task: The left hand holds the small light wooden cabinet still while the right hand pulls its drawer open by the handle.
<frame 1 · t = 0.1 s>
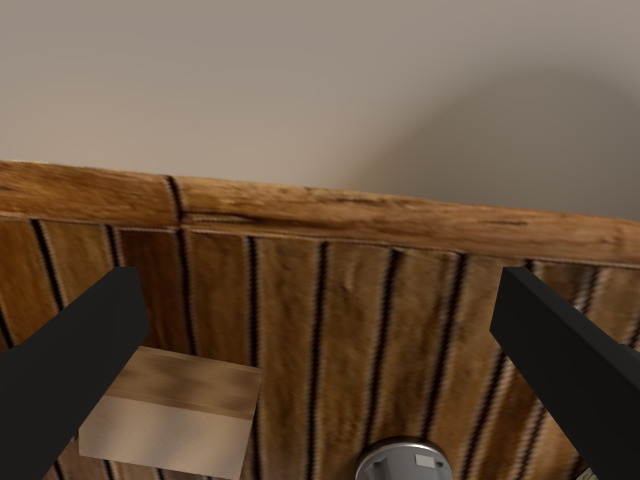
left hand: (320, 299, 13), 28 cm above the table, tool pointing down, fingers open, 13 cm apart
drawer: (131, 401, 46), point 4 cm above the table, slide at 1.2 cm
fossil: (603, 472, 57), on the table
cabinet: (188, 384, 51), on the table
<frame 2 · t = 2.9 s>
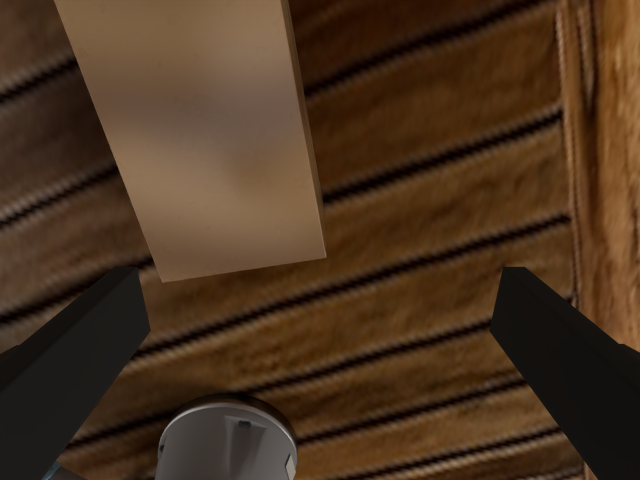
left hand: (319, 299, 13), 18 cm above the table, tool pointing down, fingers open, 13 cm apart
cabinet: (233, 103, 27), on the table
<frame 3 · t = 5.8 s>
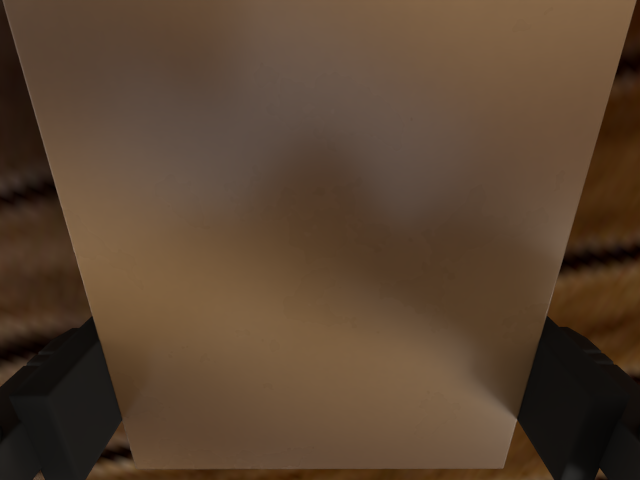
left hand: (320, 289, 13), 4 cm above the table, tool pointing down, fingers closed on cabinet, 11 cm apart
cabinet: (319, 102, 15), on the table, touching left hand
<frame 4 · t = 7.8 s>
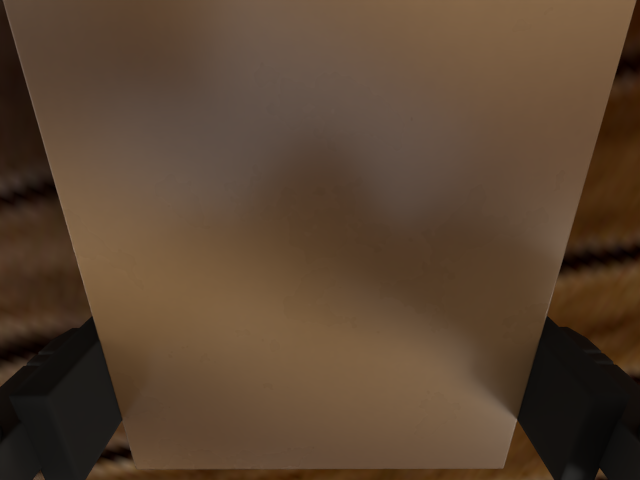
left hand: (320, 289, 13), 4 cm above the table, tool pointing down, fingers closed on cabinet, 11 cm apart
cabinet: (319, 102, 15), on the table, touching left hand
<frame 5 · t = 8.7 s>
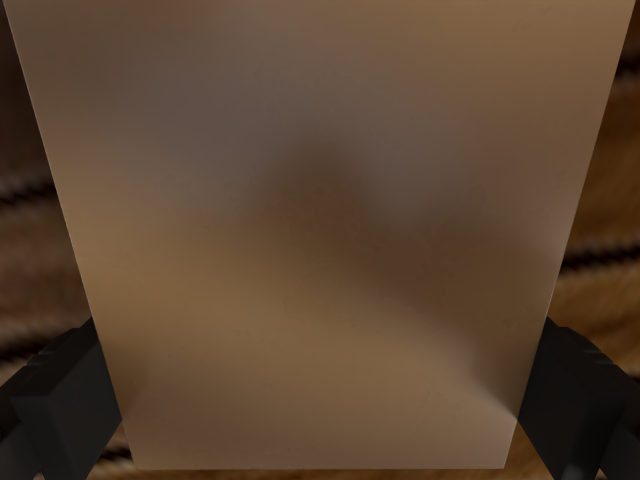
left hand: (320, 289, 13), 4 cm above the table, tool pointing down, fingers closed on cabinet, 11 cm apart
cabinet: (319, 102, 15), on the table, touching left hand
when the left hand's fingers open (4 cm above the table, at t = 10.6 s): cabinet stays where it is, on the table.
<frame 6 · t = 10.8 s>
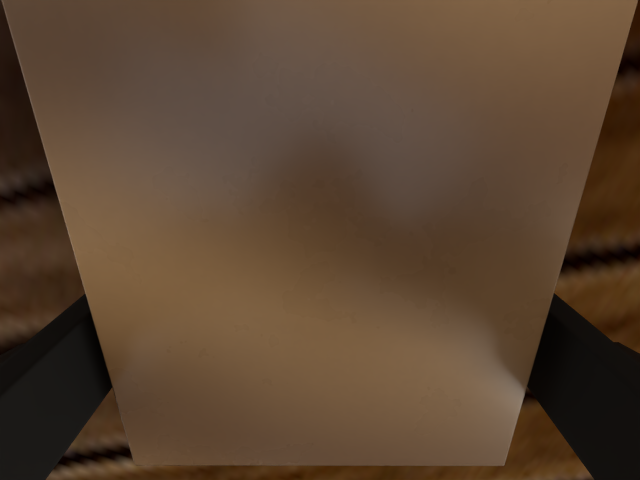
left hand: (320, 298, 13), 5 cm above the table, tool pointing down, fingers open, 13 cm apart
cabinet: (319, 97, 15), on the table
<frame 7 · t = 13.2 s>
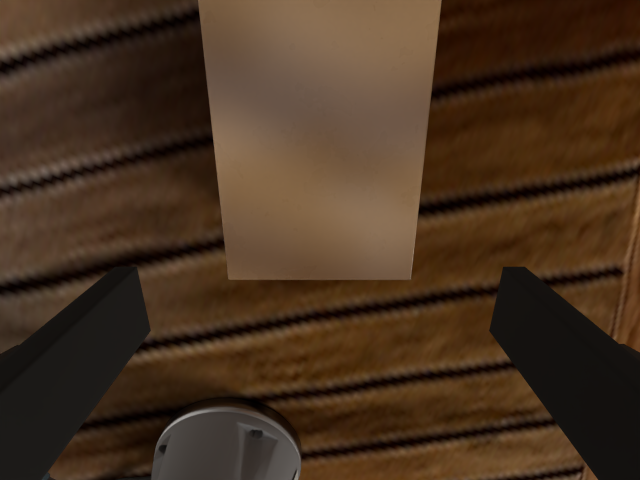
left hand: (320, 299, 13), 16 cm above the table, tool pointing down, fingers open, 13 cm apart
cabinet: (319, 98, 25), on the table
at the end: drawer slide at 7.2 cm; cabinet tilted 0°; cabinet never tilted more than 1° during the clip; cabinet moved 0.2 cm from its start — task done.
